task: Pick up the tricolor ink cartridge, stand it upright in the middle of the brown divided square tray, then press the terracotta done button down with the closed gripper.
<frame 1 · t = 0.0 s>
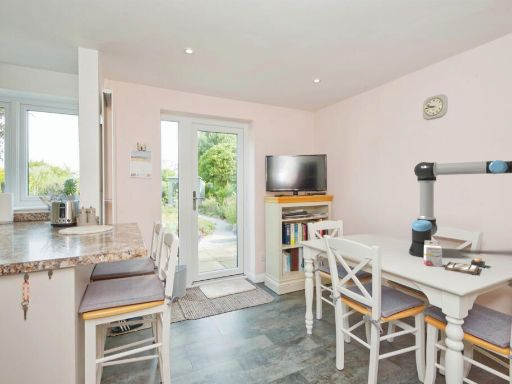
brown divided square tray: (461, 269, 154), on the table
done button: (478, 260, 160), point 3 cm above the table, slide at 0.0 cm
button housing: (478, 265, 160), on the table
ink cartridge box: (432, 265, 163), on the table
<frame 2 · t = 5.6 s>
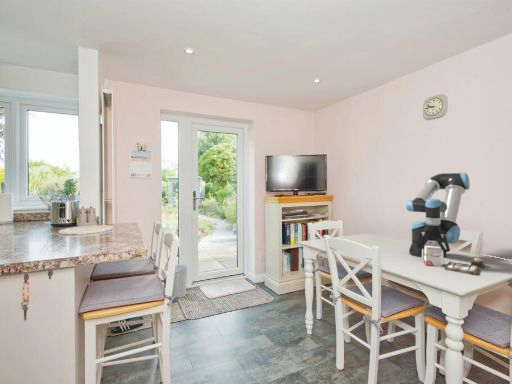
hand: (432, 260, 163), 3 cm above the table, tool pointing down, fingers closed on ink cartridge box, 10 cm apart
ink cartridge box: (432, 265, 163), on the table, touching gripper
everything else where it was.
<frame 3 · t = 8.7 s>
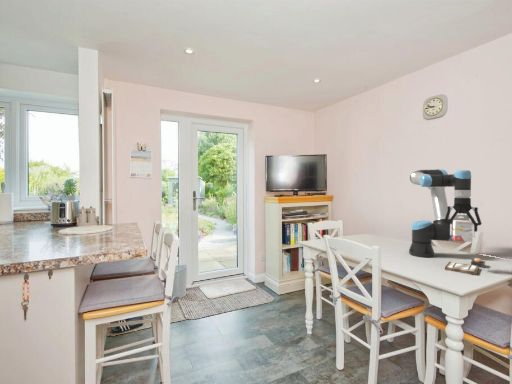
hand: (462, 235, 154), 19 cm above the table, tool pointing down, fingers closed on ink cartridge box, 10 cm apart
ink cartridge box: (462, 240, 154), point 17 cm above the table, touching gripper
everything else where it was.
when the fingers open (6 cm above the table, at t = 12.1 s): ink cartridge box drops 1 cm, resting on brown divided square tray.
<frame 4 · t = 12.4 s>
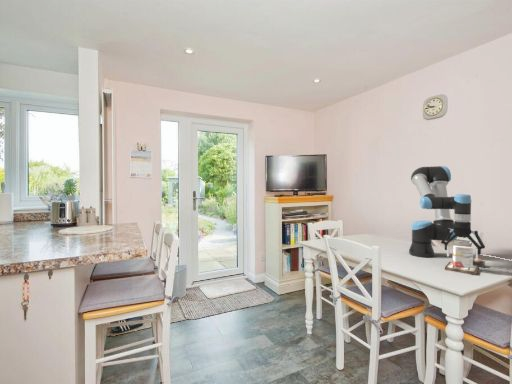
hand: (462, 258, 154), 7 cm above the table, tool pointing down, fingers open, 13 cm apart
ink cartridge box: (462, 266, 154), point 2 cm above the table, touching brown divided square tray
everything else where it was.
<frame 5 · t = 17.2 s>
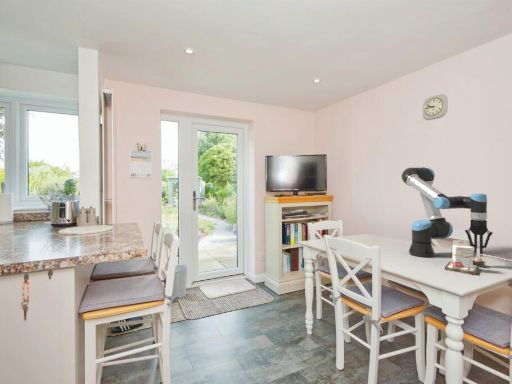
hand: (478, 258, 160), 4 cm above the table, tool pointing down, fingers closed
done button: (478, 260, 160), point 3 cm above the table, slide at 0.1 cm, touching gripper
everything else where it was.
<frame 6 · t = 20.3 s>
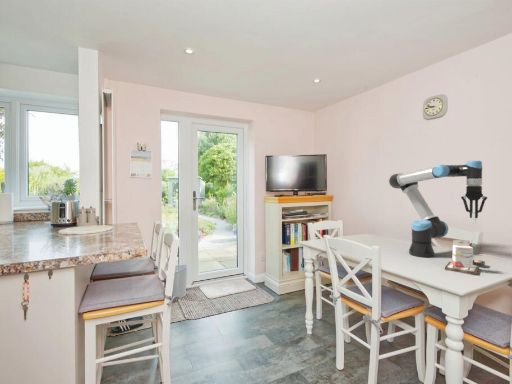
hand: (473, 223, 167), 24 cm above the table, tool pointing down, fingers closed
done button: (478, 262, 160), point 2 cm above the table, slide at 1.0 cm
everything else where it was.
at the end: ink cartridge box 0.2 cm off-centre on the brown divided square tray, point 1.6 cm above the brown divided square tray's base; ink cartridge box tilted 0°; done button slide at 1.0 cm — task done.
